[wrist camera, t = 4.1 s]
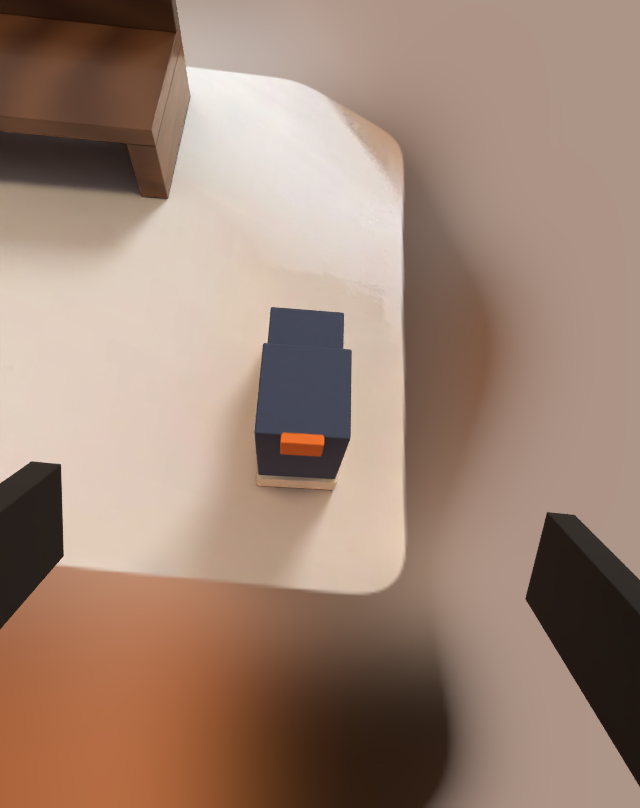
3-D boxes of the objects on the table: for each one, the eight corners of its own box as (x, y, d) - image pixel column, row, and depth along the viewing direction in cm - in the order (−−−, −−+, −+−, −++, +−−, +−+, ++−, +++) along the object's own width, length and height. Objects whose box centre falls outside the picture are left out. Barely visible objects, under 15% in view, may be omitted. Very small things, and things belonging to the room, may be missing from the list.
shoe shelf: (190, 96, 44) (172, -23, 36) (168, 199, 39) (141, 86, 31) (-51, 72, 43) (-124, -57, 35) (-106, 174, 38) (-206, 50, 30)
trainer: (333, 493, 31) (352, 447, 23) (256, 489, 30) (251, 441, 23) (337, 346, 35) (354, 269, 28) (269, 341, 35) (269, 262, 28)
